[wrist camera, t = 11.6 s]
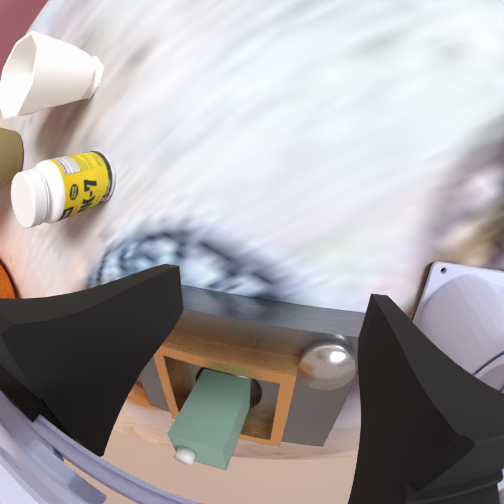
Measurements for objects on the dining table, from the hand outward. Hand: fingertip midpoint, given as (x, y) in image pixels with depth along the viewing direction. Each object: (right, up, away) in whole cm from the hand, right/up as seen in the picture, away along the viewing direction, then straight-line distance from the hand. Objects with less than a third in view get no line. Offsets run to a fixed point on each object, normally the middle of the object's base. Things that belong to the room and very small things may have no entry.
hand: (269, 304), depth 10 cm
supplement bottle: (-14, +8, +11) cm, 20 cm away
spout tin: (-3, -10, +12) cm, 16 cm away
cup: (-17, +17, +8) cm, 25 cm away
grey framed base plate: (-2, -9, +15) cm, 17 cm away
